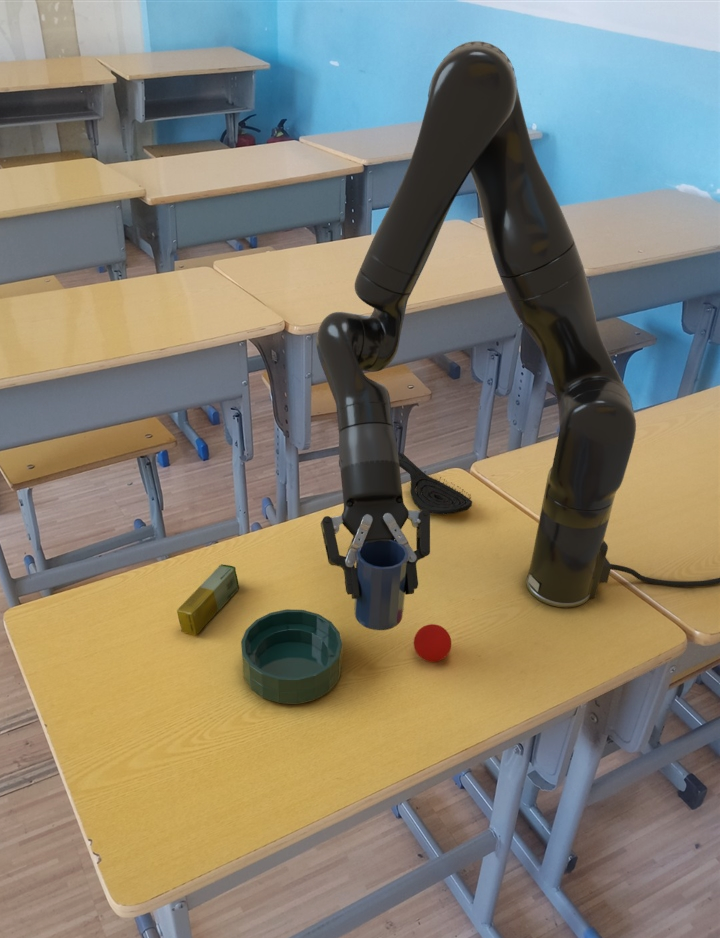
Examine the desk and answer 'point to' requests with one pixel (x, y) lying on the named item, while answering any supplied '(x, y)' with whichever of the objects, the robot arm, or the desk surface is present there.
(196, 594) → the medication box
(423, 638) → the ball
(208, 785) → the desk surface
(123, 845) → the desk surface
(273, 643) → the bowl
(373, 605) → the pencil cup
